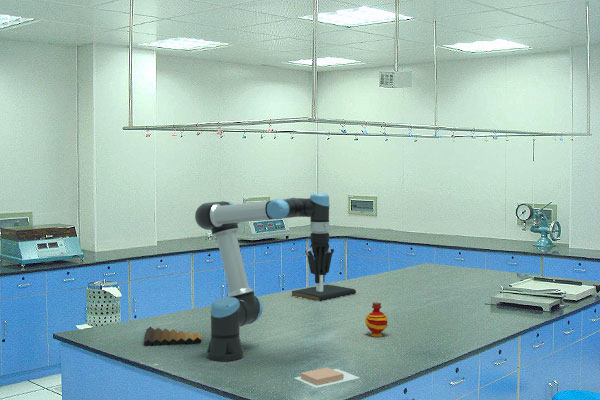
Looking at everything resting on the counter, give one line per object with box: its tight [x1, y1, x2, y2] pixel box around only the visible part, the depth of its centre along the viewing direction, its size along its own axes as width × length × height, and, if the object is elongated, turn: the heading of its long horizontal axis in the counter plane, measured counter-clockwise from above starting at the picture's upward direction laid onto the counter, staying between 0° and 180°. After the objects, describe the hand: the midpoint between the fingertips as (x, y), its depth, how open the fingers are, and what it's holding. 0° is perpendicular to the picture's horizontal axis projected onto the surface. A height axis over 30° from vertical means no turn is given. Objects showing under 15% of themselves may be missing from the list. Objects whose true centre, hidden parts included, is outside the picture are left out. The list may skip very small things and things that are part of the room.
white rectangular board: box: [294, 368, 361, 389], centre depth 249 cm, size 20×14×1 cm
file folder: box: [291, 284, 357, 302], centre depth 418 cm, size 33×4×24 cm
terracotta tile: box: [300, 366, 344, 385], centre depth 247 cm, size 2×10×12 cm
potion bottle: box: [364, 302, 389, 338], centre depth 315 cm, size 10×10×15 cm
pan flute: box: [143, 326, 202, 347], centre depth 311 cm, size 25×3×25 cm
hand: (319, 291), depth 272 cm, fingers closed
